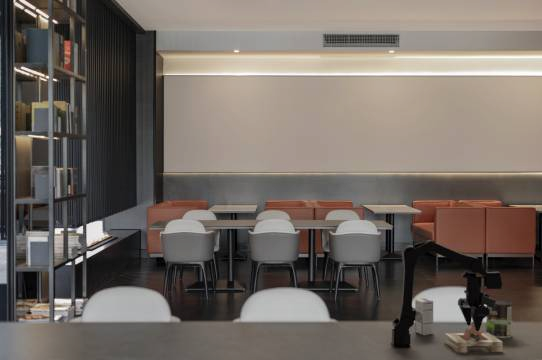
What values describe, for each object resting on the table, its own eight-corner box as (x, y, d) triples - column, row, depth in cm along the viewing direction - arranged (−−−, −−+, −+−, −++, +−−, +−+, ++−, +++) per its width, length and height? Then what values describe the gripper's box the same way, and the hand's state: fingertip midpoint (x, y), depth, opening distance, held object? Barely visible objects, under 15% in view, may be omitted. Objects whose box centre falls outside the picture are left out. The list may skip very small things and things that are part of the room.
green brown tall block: (497, 339, 271) (497, 305, 270) (480, 333, 280) (481, 300, 280) (517, 337, 274) (517, 303, 274) (500, 331, 284) (500, 298, 284)
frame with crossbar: (456, 352, 251) (456, 338, 251) (444, 342, 265) (444, 329, 265) (502, 352, 252) (502, 337, 252) (488, 342, 266) (488, 328, 266)
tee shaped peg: (466, 341, 257) (468, 322, 256) (463, 339, 260) (466, 321, 259) (481, 342, 257) (483, 324, 257) (478, 340, 260) (480, 322, 260)
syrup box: (433, 334, 278) (434, 300, 278) (422, 335, 276) (422, 301, 275) (426, 331, 283) (426, 297, 283) (414, 332, 281) (414, 298, 281)
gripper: (503, 293, 249) (502, 334, 249) (484, 284, 268) (483, 322, 268) (474, 293, 248) (474, 334, 249) (457, 284, 267) (457, 322, 267)
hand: (473, 328), depth 258 cm, fingers open, 9 cm apart
